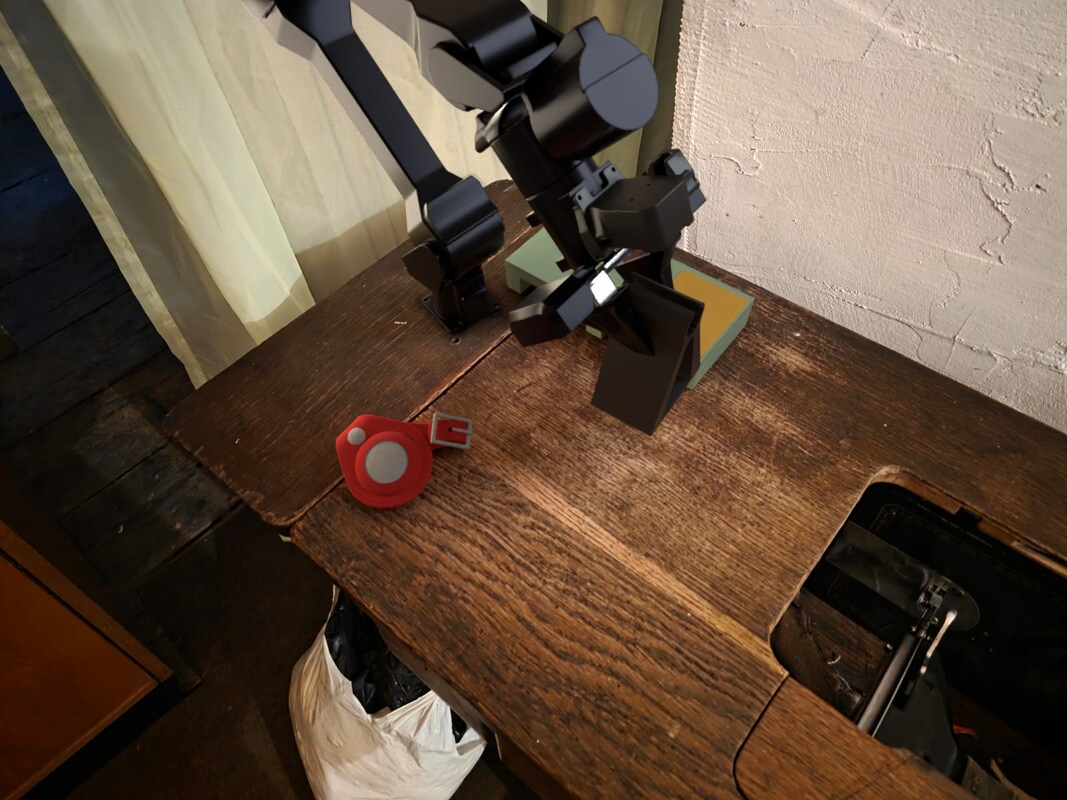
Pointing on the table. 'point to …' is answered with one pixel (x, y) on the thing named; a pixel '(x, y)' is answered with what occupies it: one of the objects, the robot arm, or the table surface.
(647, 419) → the phone stand
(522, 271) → the shoe shelf
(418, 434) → the red tape measure
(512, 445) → the table surface
